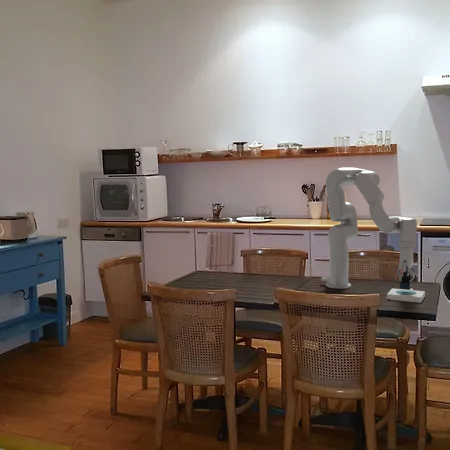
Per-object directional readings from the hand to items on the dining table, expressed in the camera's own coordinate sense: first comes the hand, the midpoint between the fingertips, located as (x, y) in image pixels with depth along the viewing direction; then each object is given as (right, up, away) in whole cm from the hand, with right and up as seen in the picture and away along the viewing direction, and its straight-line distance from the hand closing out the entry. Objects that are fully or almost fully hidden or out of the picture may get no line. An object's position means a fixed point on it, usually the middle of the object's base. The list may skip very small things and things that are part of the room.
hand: (406, 283), depth 269 cm
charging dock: (+3, -6, +6) cm, 9 cm away
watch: (0, -2, 0) cm, 2 cm away
